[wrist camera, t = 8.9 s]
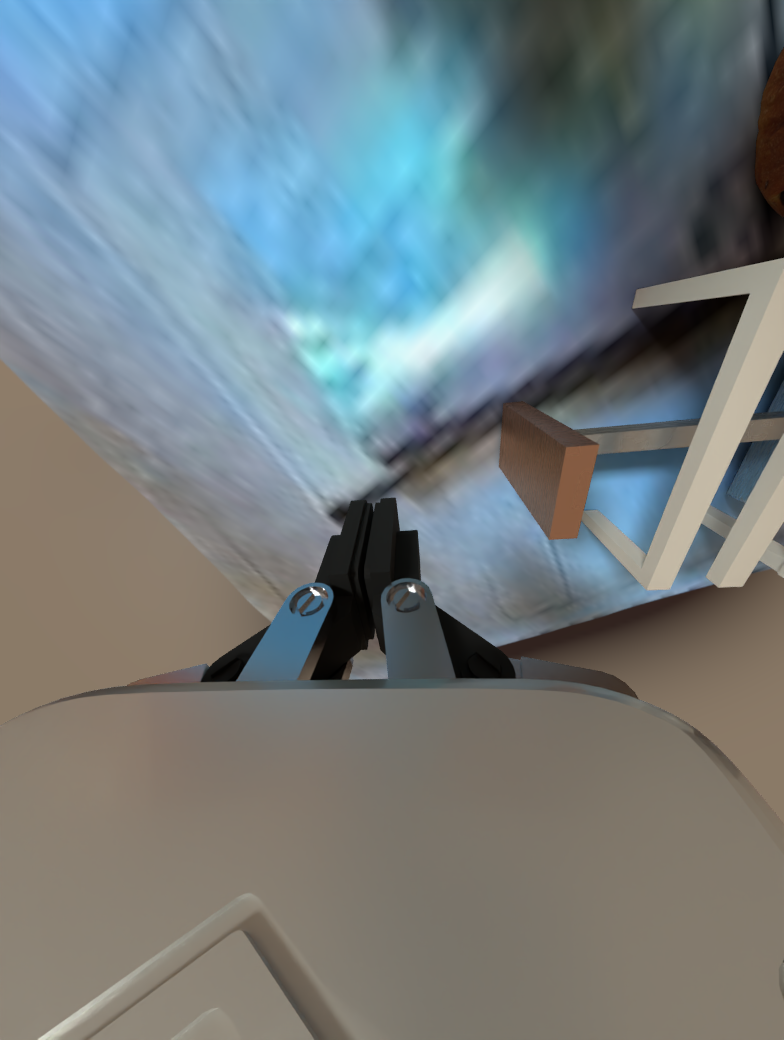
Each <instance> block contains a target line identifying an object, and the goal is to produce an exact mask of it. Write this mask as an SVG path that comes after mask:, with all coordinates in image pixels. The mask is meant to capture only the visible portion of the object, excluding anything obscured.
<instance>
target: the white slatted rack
mask: <svg viewBox="0 0 784 1040" xmlns="http://www.w3.org/2000/svg"><path fill="white" fill-rule="evenodd" d="M744 294H750V295H749V298H748V300H747V303H746V305H745V308H744V310H743V313H742V315H741V318H740V320H739V323H738V325H737V328H736V331H735V333H734V336H733V338H732V341H731V343H730V346H729V348H728V351H727V353H726V356H725V358H724V361H723V363H722V366H721V369H720V371H719V374H718V376H717V379H716V381H715V384H714V386H713V389H712V391H711V394H710V396H709V399H708V401H707V404H706V406H705V409H704V412H703V414H702V417H701V419H700V422H699V424H698V427H697V429H696V432H695V434H694V437H693V439H692V442H691V444H690V447H689V450H688V452H687V455H686V457H685V460H684V462H683V465H682V467H681V470H680V472H679V475H678V477H677V480H676V482H675V485H674V488H673V490H672V493H671V495H670V498H669V500H668V503H667V505H666V508H665V510H664V513H663V515H662V518H661V520H660V523H659V526H658V528H657V531H656V533H655V536H654V538H653V541H652V543H651V546H650V548H649V551H648V553H647V555H646V554H645V553H644V552H643V551H642V550H641V549H640V548H639V547H638V546H636V545H635V544H634V543H633V542H632V541H631V540H630V539H629V538H628V537H627V536H626V535H625V534H623V533H622V532H621V531H620V530H619V529H618V528H617V527H616V526H615V525H614V524H613V523H611V522H610V521H609V520H608V519H607V518H606V517H605V516H604V515H603V514H602V513H601V512H599V511H598V510H587V511H583V515H582V519H581V521H582V522H583V523H584V524H585V525H586V526H587V527H588V528H589V529H590V530H591V531H592V532H593V534H594V535H595V536H596V537H597V538H598V539H599V540H600V541H601V542H602V543H603V544H604V545H605V546H606V547H607V548H608V550H609V551H610V552H611V553H612V554H613V555H614V556H615V557H616V558H617V559H618V560H619V561H620V562H621V563H622V565H623V566H624V567H625V568H626V569H627V570H628V571H629V572H630V573H631V574H632V575H633V576H634V577H635V578H636V579H637V581H638V582H639V583H640V584H641V585H642V586H643V587H644V588H645V589H646V590H668V589H670V588H671V586H672V584H673V581H674V579H675V577H676V575H677V573H678V571H679V569H680V567H681V565H682V563H683V560H684V558H685V556H686V554H687V552H688V550H689V548H690V546H691V544H692V542H693V539H694V537H695V535H696V533H697V531H698V529H699V527H700V525H701V523H702V524H703V525H705V526H706V527H708V528H709V529H711V530H713V531H714V532H716V533H717V534H719V535H720V536H722V537H724V538H725V539H726V540H725V542H724V544H723V546H722V548H721V550H720V551H719V553H718V555H717V557H716V559H715V561H714V562H713V564H712V566H711V568H710V570H709V572H708V574H707V575H706V578H707V579H709V580H710V581H711V582H712V583H714V584H715V585H716V586H718V587H742V586H743V585H744V583H745V582H746V580H747V579H748V577H749V576H750V574H751V572H752V571H753V569H754V568H755V566H756V565H757V563H758V561H759V560H760V561H761V562H763V563H764V564H766V565H768V566H769V567H771V568H772V569H774V570H775V571H777V572H778V573H777V574H778V575H780V576H781V577H783V578H784V546H783V545H781V544H779V543H777V542H775V541H774V540H772V539H773V538H774V536H775V535H776V533H777V532H778V530H779V528H780V527H781V525H782V524H783V522H784V433H783V435H782V437H781V439H780V441H779V443H778V444H777V446H776V448H775V450H774V452H773V454H772V455H771V457H770V459H769V461H768V463H767V465H766V467H765V468H764V470H763V472H762V474H761V476H760V478H759V479H758V481H757V483H756V485H755V487H754V489H753V490H752V492H751V494H750V496H749V498H748V500H747V502H746V503H745V505H744V507H743V509H742V511H741V513H740V514H739V516H738V518H737V520H736V519H734V518H732V517H731V516H729V515H727V514H725V513H723V512H722V511H720V510H718V509H716V508H714V507H713V506H711V505H710V504H711V502H712V500H713V498H714V495H715V493H716V491H717V489H718V487H719V485H720V483H721V481H722V479H723V477H724V474H725V472H726V470H727V468H728V466H729V464H730V462H731V460H732V458H733V456H734V453H735V451H736V449H737V447H738V445H739V443H740V441H741V439H742V437H743V435H744V432H745V430H746V428H747V426H748V424H749V422H750V420H751V418H752V416H753V414H754V411H755V409H756V407H757V405H758V403H759V401H760V399H761V397H762V395H763V393H764V391H765V388H766V386H767V384H768V382H769V380H770V378H771V376H772V374H773V372H774V370H775V367H776V365H777V363H778V361H779V359H780V357H781V355H782V353H783V351H784V258H781V259H776V260H772V261H767V262H762V263H758V264H753V265H748V266H744V267H739V268H734V269H730V270H725V271H720V272H716V273H711V274H707V275H702V276H697V277H693V278H688V279H683V280H679V281H674V282H669V283H665V284H660V285H655V286H651V287H646V288H642V289H637V290H636V294H635V298H634V302H633V306H632V309H634V308H642V307H649V306H657V305H665V304H673V303H681V302H689V301H696V300H704V299H712V298H720V297H728V296H736V295H744Z"/></svg>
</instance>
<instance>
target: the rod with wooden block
mask: <svg viewBox="0 0 784 1040" xmlns="http://www.w3.org/2000/svg"><path fill="white" fill-rule="evenodd" d="M700 419H701V418H699V419H688V420H677V421H666V422H655V423H644V424H633V425H622V426H611V427H601V428H590V429H579V430H573V429H571V428H569V427H568V426H566V425H564V424H562V423H560V422H559V421H557V420H555V419H553V418H552V417H550V416H548V415H546V414H544V413H543V412H541V411H539V410H537V409H536V408H534V407H532V406H530V405H528V404H527V403H525V402H523V401H521V402H512V403H503V417H502V430H501V444H500V458H499V467H500V469H501V470H502V472H503V473H504V475H505V476H506V478H507V479H508V481H509V482H510V484H511V485H512V486H513V488H514V489H515V491H516V492H517V494H518V495H519V497H520V498H521V500H522V501H523V502H524V504H525V505H526V507H527V508H528V510H529V511H530V513H531V514H532V516H533V517H534V518H535V520H536V521H537V523H538V524H539V526H540V527H541V529H542V530H543V532H544V533H545V534H546V536H547V537H548V539H549V540H553V539H570V538H577V536H578V532H579V528H580V524H581V519H582V515H583V511H584V507H585V503H586V499H587V494H588V490H589V486H590V482H591V478H592V474H593V470H594V465H595V461H596V457H597V454H608V453H620V452H632V451H644V450H656V449H668V448H680V447H690V444H691V442H692V439H693V437H694V434H695V432H696V429H697V427H698V424H699V422H700ZM783 433H784V380H783V382H782V384H781V386H780V388H779V390H778V392H777V394H776V396H775V398H774V400H773V402H772V404H771V406H770V408H769V410H768V412H765V413H754V414H753V416H752V418H751V420H750V422H749V424H748V426H747V428H746V430H745V432H744V435H743V437H742V439H741V441H740V442H752V441H753V442H752V444H751V446H750V448H749V450H748V452H747V454H746V456H745V458H744V460H743V462H742V464H741V466H740V468H739V470H738V472H737V474H736V476H735V478H734V480H733V482H732V484H731V486H730V488H729V490H728V492H727V495H729V496H731V497H733V498H736V499H738V500H740V501H742V502H744V503H746V502H747V500H748V498H749V496H750V494H751V492H752V490H753V489H754V487H755V485H756V483H757V481H758V479H759V478H760V476H761V474H762V472H763V470H764V468H765V467H766V465H767V463H768V461H769V459H770V457H771V455H772V454H773V452H774V450H775V448H776V446H777V444H778V443H779V441H780V439H781V437H782V435H783Z"/></svg>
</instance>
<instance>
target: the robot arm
mask: <svg viewBox="0 0 784 1040" xmlns="http://www.w3.org/2000/svg"><path fill="white" fill-rule="evenodd" d="M375 629H376V633H377V638H378V641H379V645H380V650H381V651H382V652H383V653H384V654H385V655H386V659H387V670H388V679H362V680H349V677H350V673H351V670H352V667H353V661H354V660H353V656H355V655H356V654H357V653H358V652H359V651H360V650H367V648H368V640H369V639H374V634H375ZM0 1040H784V823H783V822H782V821H781V819H780V818H779V817H778V816H777V814H776V813H775V812H774V810H772V808H771V807H770V806H769V805H768V803H767V802H766V801H765V799H764V798H763V797H762V796H761V795H760V794H759V792H758V791H757V790H756V789H755V787H754V786H753V785H752V784H751V783H750V782H749V780H748V779H747V778H746V777H745V776H744V775H743V774H742V772H741V771H740V770H739V769H738V768H737V767H736V766H735V765H734V764H733V762H732V761H731V760H730V759H729V758H728V757H727V756H726V755H725V754H724V753H723V752H722V751H721V750H720V749H719V748H718V747H717V746H716V745H715V744H714V743H713V742H711V741H710V740H709V739H708V738H707V737H706V736H704V735H703V734H702V733H701V732H700V731H698V730H697V729H696V728H694V727H693V726H691V725H690V724H688V723H687V722H685V721H684V720H682V719H680V718H679V717H677V716H675V715H673V714H671V713H669V712H667V711H665V710H663V709H661V708H658V707H656V706H654V705H652V704H649V703H647V702H644V701H641V700H639V699H638V697H637V696H636V694H635V692H634V691H633V690H632V689H631V688H629V686H628V685H627V684H626V683H625V682H623V681H621V680H620V679H618V678H617V677H615V676H613V675H610V674H607V673H604V672H601V671H595V670H590V669H585V668H580V667H574V666H569V665H564V664H558V663H553V662H548V661H542V660H537V659H532V658H526V657H521V660H516V659H510V658H508V657H507V656H506V655H505V654H504V653H503V652H502V651H501V650H499V649H498V648H496V647H495V646H493V645H492V644H491V643H489V642H488V641H486V640H485V639H483V638H482V637H480V636H479V635H478V634H476V633H475V632H473V631H472V630H470V629H469V628H467V627H466V626H465V625H463V624H462V623H460V622H459V621H457V620H456V619H455V618H453V617H452V616H450V615H449V614H447V613H446V612H444V611H443V610H442V609H440V608H439V607H437V606H436V605H435V603H434V599H433V596H432V592H431V591H430V589H429V587H428V586H427V585H426V584H425V583H424V582H422V581H421V574H420V556H419V542H418V531H417V530H411V531H400V528H399V520H398V512H397V503H396V498H383V499H381V501H380V503H376V504H375V509H374V511H373V506H372V503H367V501H366V500H357V501H351V503H350V506H349V509H348V512H347V516H346V519H345V522H344V525H343V528H342V532H341V535H333V536H331V538H330V541H329V544H328V547H327V549H326V552H325V555H324V558H323V561H322V564H321V566H320V569H319V572H318V575H317V578H316V581H315V583H309V584H306V585H303V586H301V587H299V588H297V589H296V590H295V591H293V592H292V593H291V594H290V595H289V596H288V598H287V599H286V600H285V602H284V604H283V605H282V607H281V609H280V610H279V612H278V614H277V615H276V617H275V618H274V620H273V622H272V623H271V624H270V625H269V626H267V627H266V628H264V629H263V630H261V631H260V632H258V633H257V634H255V635H254V636H252V637H251V638H249V639H248V640H246V641H245V642H243V643H242V644H240V645H238V646H237V647H236V648H234V649H232V650H231V651H229V652H228V653H226V654H225V655H223V656H222V657H220V658H219V659H218V660H217V661H215V662H214V663H213V664H212V665H211V666H210V667H209V666H208V665H207V664H202V665H198V666H194V667H190V668H186V669H181V670H177V671H173V672H169V673H165V674H160V675H156V676H152V677H148V678H144V679H140V680H137V681H135V682H132V683H130V684H128V685H127V686H120V687H111V688H105V689H100V690H94V691H89V692H84V693H81V694H77V695H73V696H69V697H65V698H62V699H59V700H56V701H53V702H51V703H48V704H45V705H42V706H39V707H37V708H35V709H32V710H30V711H28V712H26V713H24V714H21V715H19V716H18V717H16V718H13V719H11V720H9V721H7V722H5V723H4V724H2V725H1V726H0Z"/></svg>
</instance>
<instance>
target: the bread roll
mask: <svg viewBox="0 0 784 1040" xmlns="http://www.w3.org/2000/svg"><path fill="white" fill-rule="evenodd" d="M758 129H759V132H758V135H757V140H756V162H755V179H756V184H757V186H758V187H759V189H760V191H761V193H762V194H763V196H764V198H765V199H766V201H767V202H768V204H769V205H770V206H771V207H772V208H773V209H774V210H775V211H776V212H777V213H778V214H779V215H781V216H782V217H783V218H784V48H783V50H782V51H781V53H780V55H779V57H778V59H777V61H776V63H775V65H774V68H773V70H772V72H771V75H770V77H769V80H768V82H767V85H766V87H765V89H764V92H763V97H762V101H761V113H760V116H759V120H758Z"/></svg>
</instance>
